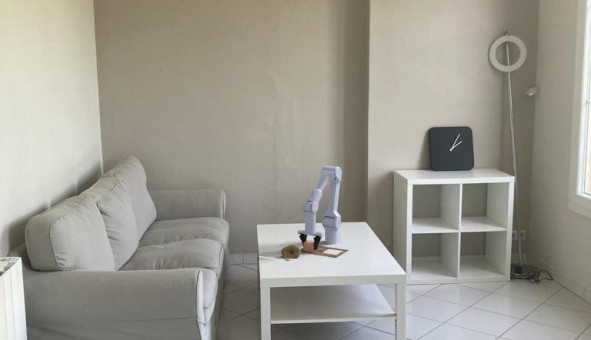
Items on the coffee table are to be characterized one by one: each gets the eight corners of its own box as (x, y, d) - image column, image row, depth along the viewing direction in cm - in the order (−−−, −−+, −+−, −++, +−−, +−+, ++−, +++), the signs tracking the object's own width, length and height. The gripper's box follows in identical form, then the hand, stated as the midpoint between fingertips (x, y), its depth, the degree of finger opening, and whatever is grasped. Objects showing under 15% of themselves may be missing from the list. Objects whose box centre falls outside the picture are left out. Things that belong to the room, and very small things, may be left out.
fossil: (279, 247, 311) (297, 242, 313) (279, 251, 315) (298, 246, 316) (284, 261, 306) (303, 256, 307) (284, 266, 309) (303, 260, 311)
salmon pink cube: (308, 248, 326) (308, 240, 325) (317, 249, 323) (317, 241, 322) (303, 250, 321) (303, 242, 320) (312, 252, 318) (312, 243, 318)
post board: (309, 246, 334) (309, 238, 333) (349, 251, 322) (349, 243, 321) (295, 253, 320) (295, 245, 319) (335, 259, 308) (335, 251, 307)
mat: (329, 249, 323) (329, 248, 323) (342, 251, 319) (342, 250, 319) (322, 253, 316) (322, 252, 316) (335, 255, 312) (335, 254, 312)
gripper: (294, 223, 320) (295, 248, 322) (318, 226, 313) (319, 252, 315) (301, 221, 326) (301, 245, 328) (325, 224, 319) (325, 249, 321)
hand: (310, 248), depth 322 cm, fingers open, 6 cm apart
